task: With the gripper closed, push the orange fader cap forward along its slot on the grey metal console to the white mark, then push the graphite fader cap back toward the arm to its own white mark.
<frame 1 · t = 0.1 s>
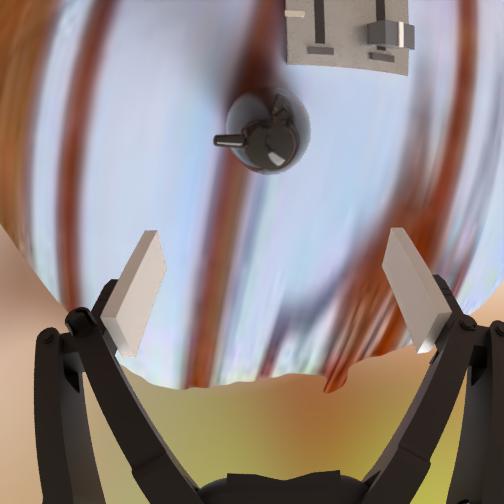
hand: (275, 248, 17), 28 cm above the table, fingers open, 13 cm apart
pump dispenser: (266, 119, 39), on the table
fader graphite: (390, 35, 26), point 5 cm above the table, slide at 16.0 cm
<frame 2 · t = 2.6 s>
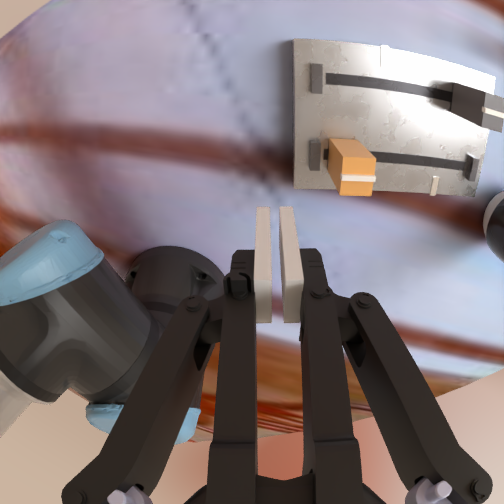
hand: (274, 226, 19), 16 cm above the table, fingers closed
pump dispenser: (497, 210, 35), on the table
fader orange: (350, 165, 28), point 5 cm above the table, slide at 2.0 cm
console: (399, 119, 29), on the table
fader graphite: (478, 106, 22), point 5 cm above the table, slide at 16.0 cm
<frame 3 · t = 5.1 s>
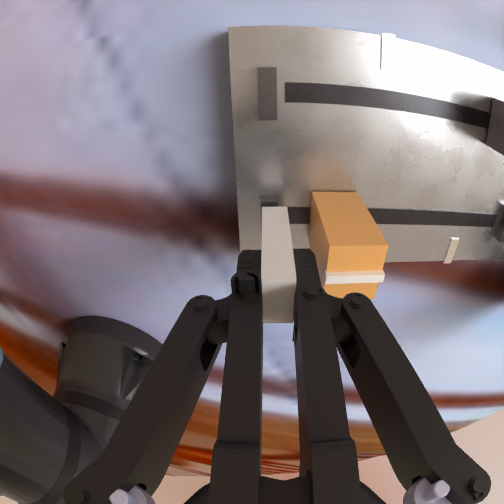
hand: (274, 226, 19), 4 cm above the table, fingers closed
fader orange: (342, 243, 17), point 5 cm above the table, slide at 3.2 cm, touching gripper
console: (407, 154, 19), on the table
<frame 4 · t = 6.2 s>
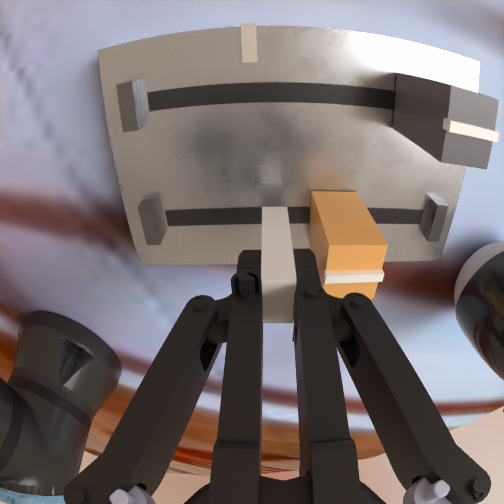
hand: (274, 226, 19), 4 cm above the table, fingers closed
pump dispenser: (479, 267, 25), on the table
fader orange: (342, 243, 17), point 5 cm above the table, slide at 11.1 cm, touching gripper
console: (299, 147, 20), on the table
fader graphite: (442, 115, 13), point 5 cm above the table, slide at 16.0 cm
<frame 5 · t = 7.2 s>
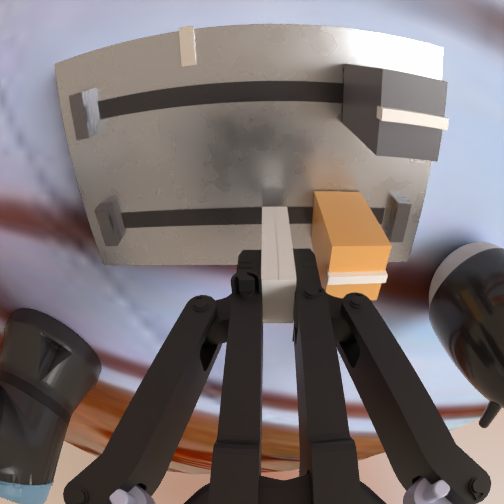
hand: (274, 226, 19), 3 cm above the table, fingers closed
pump dispenser: (458, 269, 25), on the table
fader orange: (345, 243, 17), point 5 cm above the table, slide at 14.5 cm, touching gripper
console: (249, 147, 19), on the table
fader graphite: (388, 104, 13), point 5 cm above the table, slide at 16.0 cm
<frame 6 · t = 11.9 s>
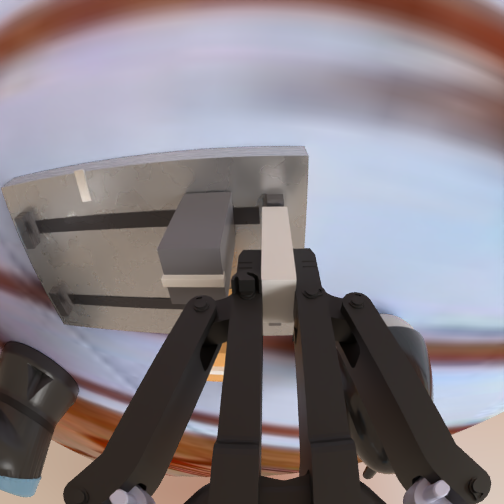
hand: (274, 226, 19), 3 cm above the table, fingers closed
pump dispenser: (367, 331, 30), on the table
fader orange: (214, 336, 22), point 5 cm above the table, slide at 14.5 cm
console: (149, 250, 24), on the table
fader graphite: (202, 245, 17), point 5 cm above the table, slide at 14.8 cm, touching gripper
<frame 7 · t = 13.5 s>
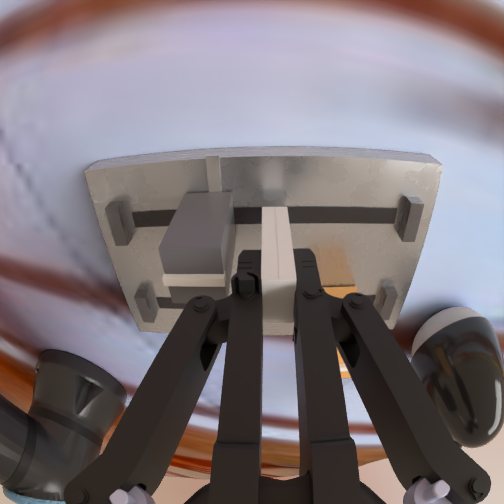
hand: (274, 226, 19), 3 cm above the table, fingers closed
pump dispenser: (440, 324, 30), on the table
fader orange: (341, 333, 22), point 5 cm above the table, slide at 14.5 cm
console: (265, 248, 24), on the table
fader graphite: (203, 245, 18), point 5 cm above the table, slide at 5.5 cm, touching gripper
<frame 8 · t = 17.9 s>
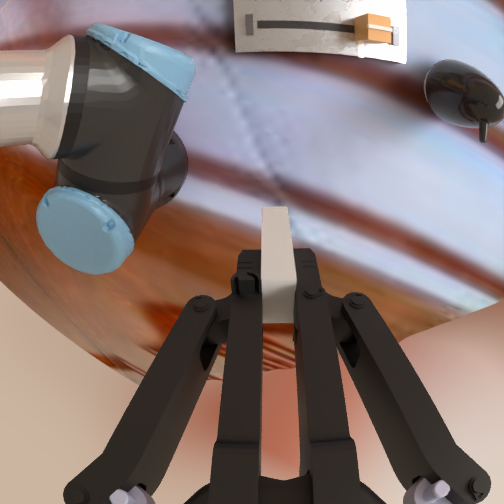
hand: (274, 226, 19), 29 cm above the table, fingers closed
pump dispenser: (440, 88, 37), on the table
fader orange: (372, 29, 29), point 5 cm above the table, slide at 14.5 cm
console: (321, 3, 31), on the table
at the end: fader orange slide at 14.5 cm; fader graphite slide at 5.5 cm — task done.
